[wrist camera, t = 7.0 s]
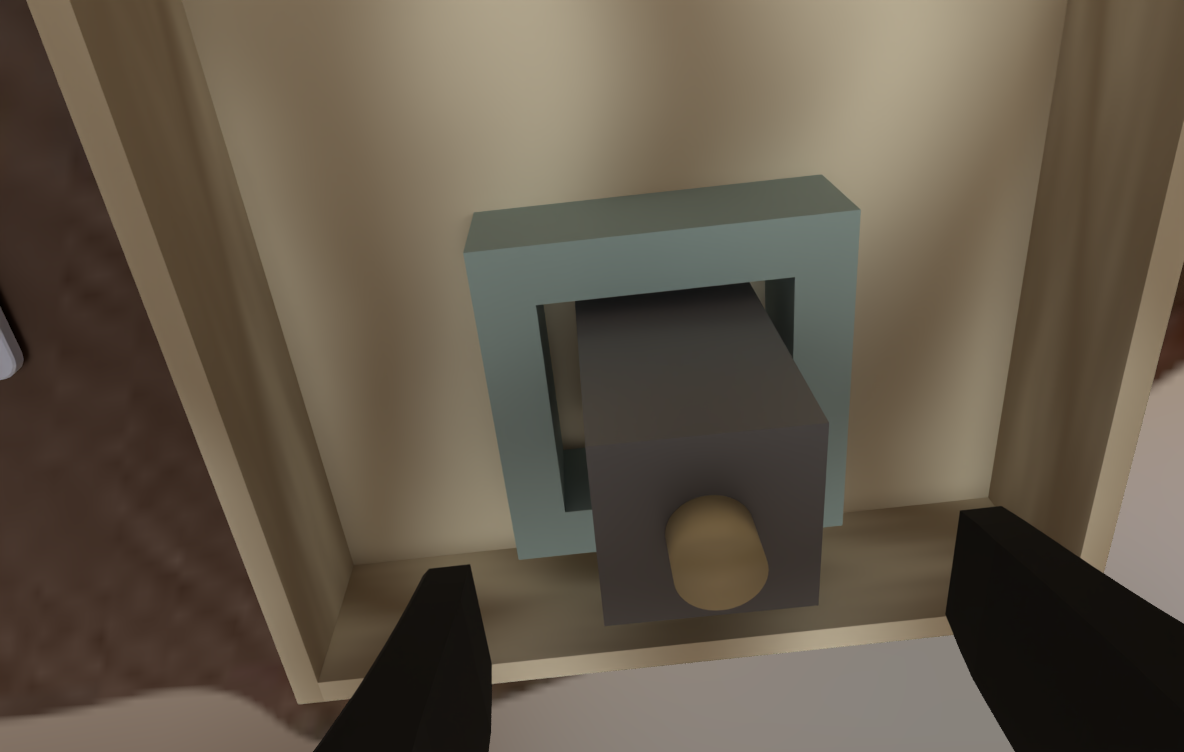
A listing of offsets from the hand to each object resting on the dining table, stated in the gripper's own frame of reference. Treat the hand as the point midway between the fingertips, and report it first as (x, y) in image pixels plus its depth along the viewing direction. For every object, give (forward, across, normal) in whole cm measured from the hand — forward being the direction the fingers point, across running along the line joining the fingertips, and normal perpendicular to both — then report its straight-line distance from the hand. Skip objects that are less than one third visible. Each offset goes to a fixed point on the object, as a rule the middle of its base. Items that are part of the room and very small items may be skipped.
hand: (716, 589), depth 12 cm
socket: (+9, 0, 0) cm, 9 cm away
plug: (+8, 0, 0) cm, 8 cm away
